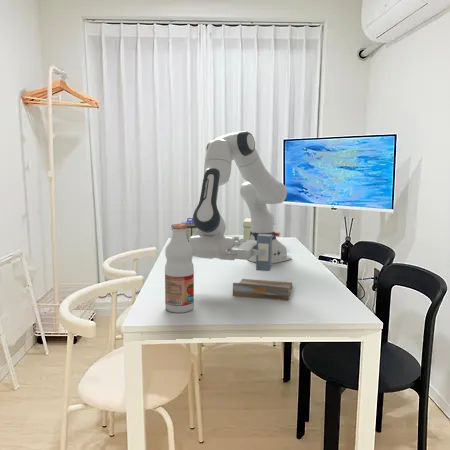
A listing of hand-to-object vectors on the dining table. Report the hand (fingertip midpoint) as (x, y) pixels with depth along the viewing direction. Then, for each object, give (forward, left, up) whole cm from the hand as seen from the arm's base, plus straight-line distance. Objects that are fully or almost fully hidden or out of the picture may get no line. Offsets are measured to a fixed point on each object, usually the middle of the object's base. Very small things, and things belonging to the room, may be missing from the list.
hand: (266, 250), depth 162 cm
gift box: (-50, -73, -16) cm, 89 cm away
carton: (+1, -1, -7) cm, 7 cm away
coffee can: (-10, -81, -16) cm, 83 cm away
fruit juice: (+36, +1, -16) cm, 40 cm away
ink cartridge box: (-20, -101, -16) cm, 104 cm away
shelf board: (0, -1, -15) cm, 16 cm away
